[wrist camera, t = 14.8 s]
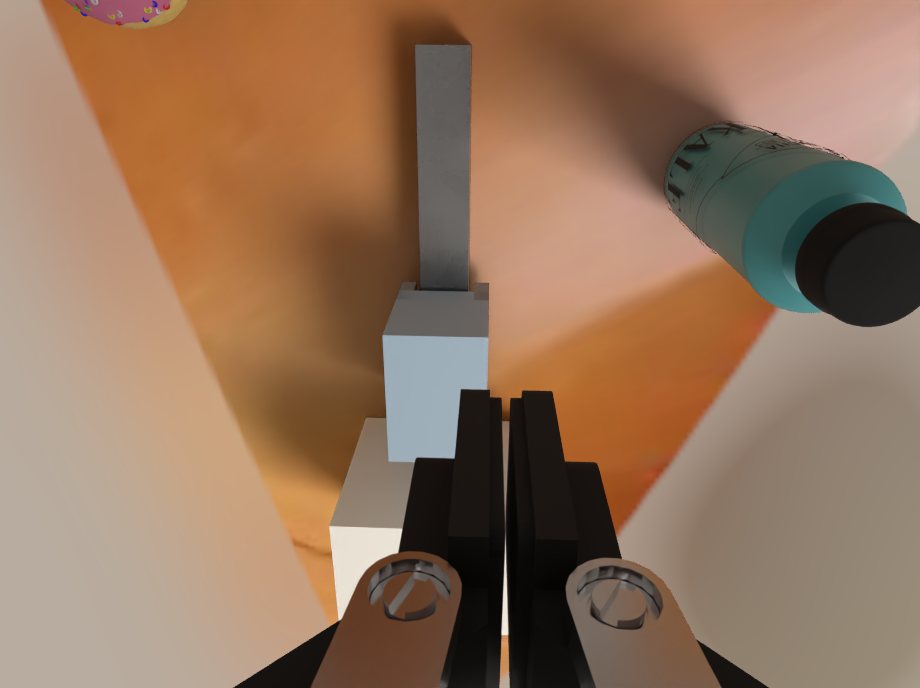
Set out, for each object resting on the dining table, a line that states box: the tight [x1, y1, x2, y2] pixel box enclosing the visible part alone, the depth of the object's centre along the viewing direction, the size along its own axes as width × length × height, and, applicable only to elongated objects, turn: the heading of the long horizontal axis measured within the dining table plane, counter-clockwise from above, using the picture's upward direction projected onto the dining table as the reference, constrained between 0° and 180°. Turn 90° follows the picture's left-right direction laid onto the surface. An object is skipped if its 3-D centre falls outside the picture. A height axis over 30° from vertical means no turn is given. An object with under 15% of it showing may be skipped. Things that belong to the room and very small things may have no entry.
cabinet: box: [330, 417, 509, 635], centre depth 44 cm, size 8×12×12 cm, turn 90°
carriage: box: [382, 281, 489, 462], centre depth 40 cm, size 8×6×9 cm
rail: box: [415, 45, 472, 292], centre depth 42 cm, size 25×3×2 cm, turn 0°
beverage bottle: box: [664, 121, 920, 327], centre depth 31 cm, size 6×7×20 cm
